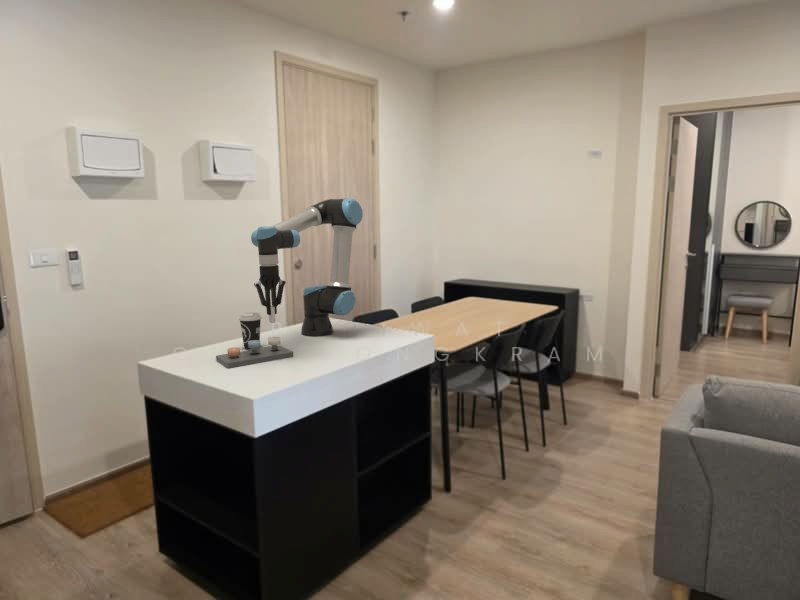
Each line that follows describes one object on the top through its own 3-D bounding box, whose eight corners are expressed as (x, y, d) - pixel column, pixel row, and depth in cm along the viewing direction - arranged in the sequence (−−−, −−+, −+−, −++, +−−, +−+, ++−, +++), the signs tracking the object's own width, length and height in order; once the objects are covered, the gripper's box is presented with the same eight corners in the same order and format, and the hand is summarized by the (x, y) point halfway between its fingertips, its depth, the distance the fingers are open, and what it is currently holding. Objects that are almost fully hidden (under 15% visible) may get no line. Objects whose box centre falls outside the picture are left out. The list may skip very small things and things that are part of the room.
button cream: (277, 346, 228) (277, 336, 227) (282, 348, 224) (281, 338, 223) (266, 348, 225) (266, 337, 224) (271, 350, 221) (270, 340, 221)
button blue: (258, 349, 223) (257, 339, 222) (262, 351, 219) (262, 341, 218) (246, 351, 220) (246, 341, 219) (251, 353, 216) (250, 343, 216)
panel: (279, 349, 234) (279, 345, 233) (293, 356, 222) (293, 351, 222) (216, 360, 218) (215, 355, 218) (227, 368, 207) (227, 363, 206)
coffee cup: (257, 350, 232) (255, 316, 230) (236, 350, 234) (234, 315, 232) (266, 345, 241) (265, 312, 239) (247, 344, 243) (245, 311, 241)
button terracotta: (238, 357, 218) (237, 346, 218) (242, 359, 215) (241, 349, 214) (226, 359, 216) (225, 348, 215) (230, 361, 212) (229, 351, 211)
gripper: (280, 263, 225) (283, 318, 229) (249, 265, 218) (253, 322, 222) (287, 264, 219) (290, 321, 223) (256, 267, 212) (260, 326, 216)
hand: (272, 322), depth 223 cm, fingers closed
